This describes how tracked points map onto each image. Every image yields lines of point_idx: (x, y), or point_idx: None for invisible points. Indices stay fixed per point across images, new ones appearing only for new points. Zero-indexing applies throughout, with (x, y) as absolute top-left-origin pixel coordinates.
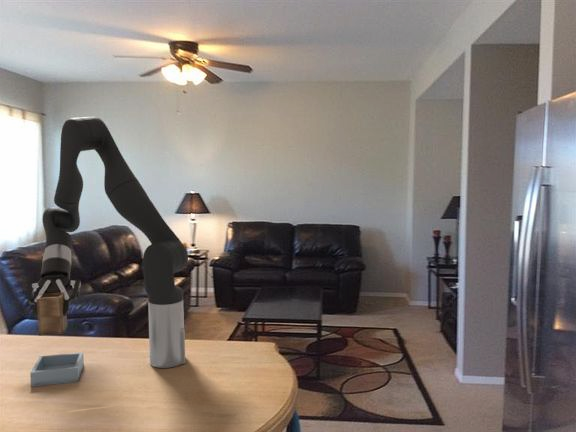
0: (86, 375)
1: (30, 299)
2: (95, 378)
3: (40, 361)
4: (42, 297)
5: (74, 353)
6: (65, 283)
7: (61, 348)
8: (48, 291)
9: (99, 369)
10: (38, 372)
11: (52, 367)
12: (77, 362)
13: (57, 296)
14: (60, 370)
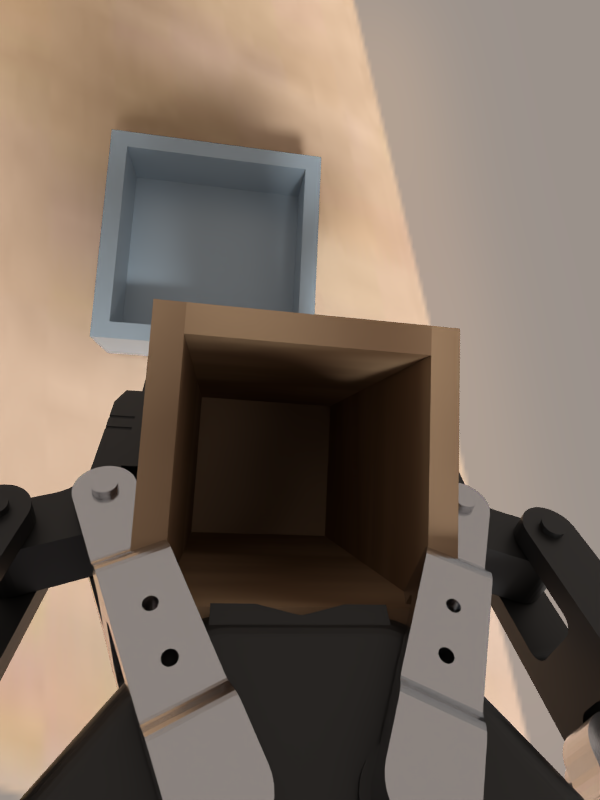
0: (93, 233)
1: (538, 520)
2: (53, 186)
3: (299, 290)
4: (414, 525)
5: (137, 332)
6: (77, 784)
7: None
8: (368, 624)
9: (33, 280)
10: (286, 153)
11: None
12: (115, 198)
13: (236, 590)
14: (192, 143)
